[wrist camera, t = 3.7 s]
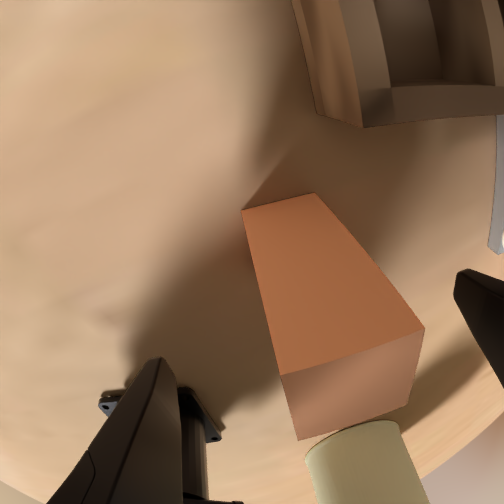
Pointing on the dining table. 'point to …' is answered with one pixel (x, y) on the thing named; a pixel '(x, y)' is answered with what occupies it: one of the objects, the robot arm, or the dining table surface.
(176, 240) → the dining table surface
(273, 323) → the peg
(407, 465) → the can
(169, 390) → the robot arm
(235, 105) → the dining table surface
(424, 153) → the dining table surface
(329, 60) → the socket block
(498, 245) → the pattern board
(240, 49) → the dining table surface
